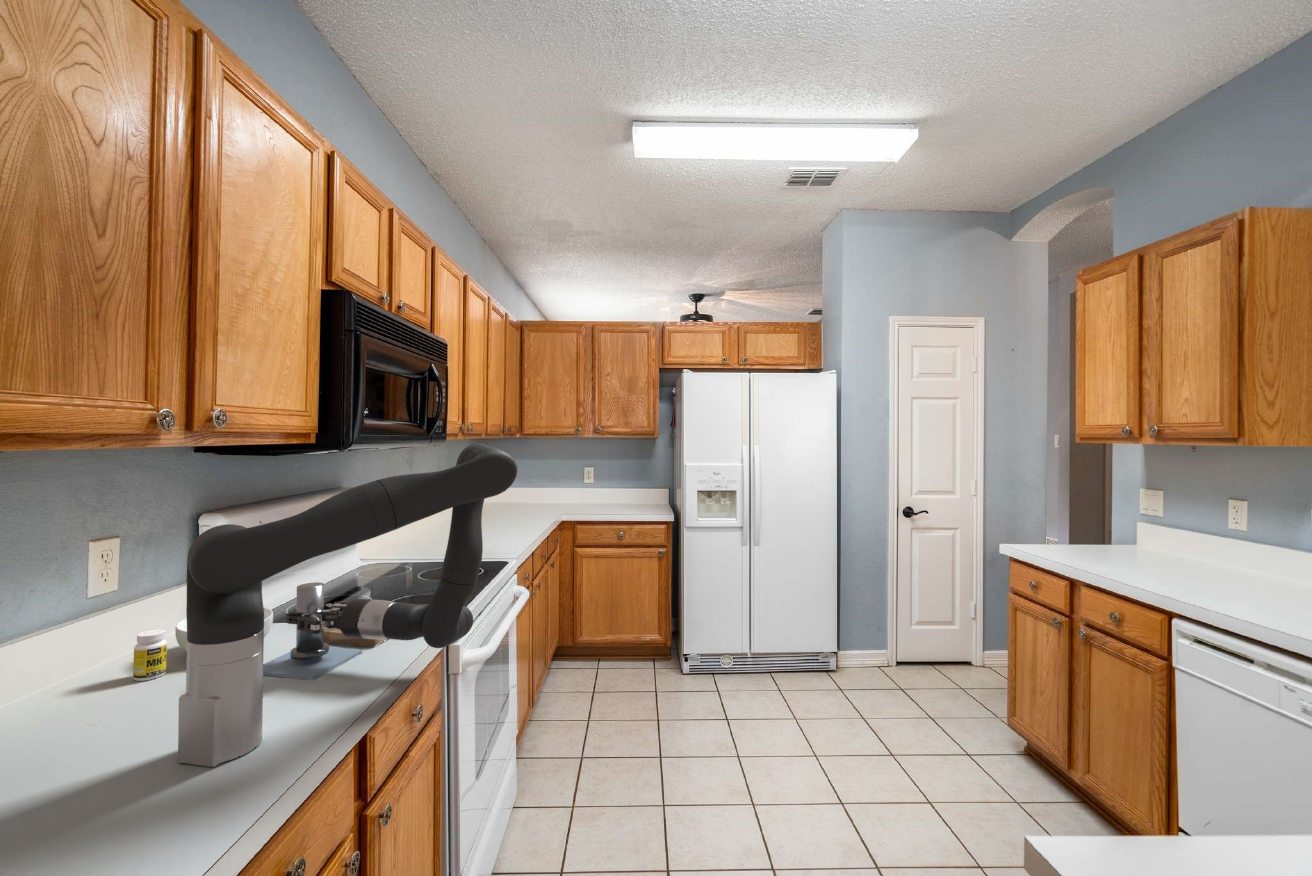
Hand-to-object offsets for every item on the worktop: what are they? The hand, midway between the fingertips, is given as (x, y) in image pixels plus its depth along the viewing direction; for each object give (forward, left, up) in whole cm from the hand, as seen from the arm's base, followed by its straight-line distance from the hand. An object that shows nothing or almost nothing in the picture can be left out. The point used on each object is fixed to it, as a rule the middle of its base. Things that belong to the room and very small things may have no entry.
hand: (298, 613), depth 117 cm
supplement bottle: (-12, +21, -10) cm, 27 cm away
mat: (0, -3, -10) cm, 10 cm away
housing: (+18, -3, -10) cm, 21 cm away
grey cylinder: (0, -3, -8) cm, 8 cm away
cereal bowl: (+2, +19, -10) cm, 22 cm away
